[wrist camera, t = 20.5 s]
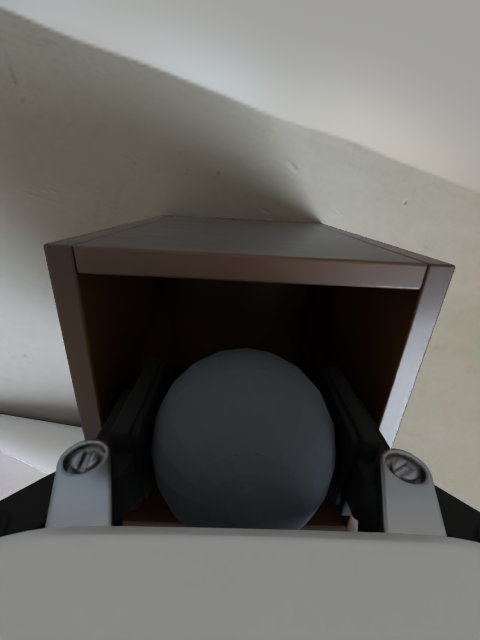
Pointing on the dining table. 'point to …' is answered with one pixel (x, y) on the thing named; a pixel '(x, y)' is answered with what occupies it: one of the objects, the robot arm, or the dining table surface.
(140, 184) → the dining table surface
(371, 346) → the chest
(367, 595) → the robot arm
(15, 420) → the long cone
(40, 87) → the dining table surface
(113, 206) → the dining table surface
